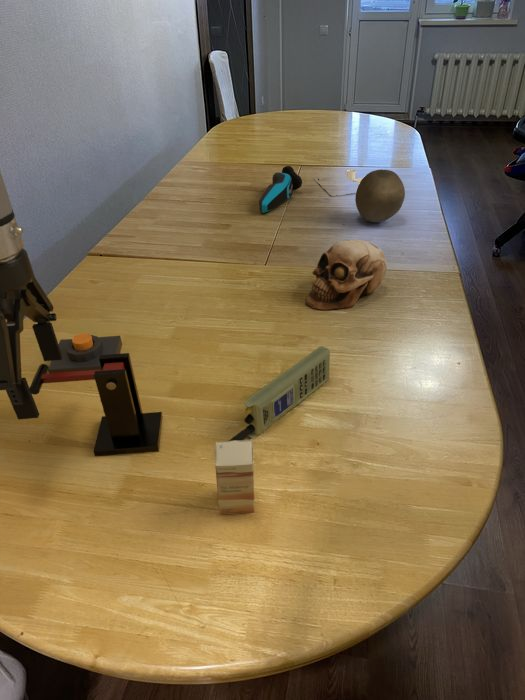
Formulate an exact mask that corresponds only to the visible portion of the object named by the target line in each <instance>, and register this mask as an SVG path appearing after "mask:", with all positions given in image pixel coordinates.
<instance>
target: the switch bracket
mask: <svg viewBox="0 0 525 700" xmlns="http://www.w3.org/2000/svg"><path fill="white" fill-rule="evenodd" d="M99 362H100V365H101V369H103V367H104V364H105V363H117V362H123V363H124V368H125V369H119V370H106V371H95V373H94V378H95V380H94V381H95V386H96V389H97V392H98V396H99V399H100V402H101V406H102V410H103V414H104V415H102V416H101V419H100V423H99V427H98V431H97V433H96V438H95V442H94V447H93V449H92V451H93V456H94V457H107V456H118V455H128V454H142V453H154V452H159V451H160V443H161V434H162V427H163V426H162V425H163V412H162V411H153V412H143V409H142V405H141V400H140V395H139V391H138V386H137V383H136V377H135V374H134V369H133V364H132V360H131V356H130V353H129V352H123V353H120V354H108V355H100V356H99Z"/></svg>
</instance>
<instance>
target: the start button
mask: <svg viewBox="0 0 525 700" xmlns="http://www.w3.org/2000/svg"><path fill="white" fill-rule="evenodd" d="M91 335H92V334H89V333H79V334H77V335H75V336H73V337H72V338H71V339H72V342H73V346H74V349H75V350H77V351H82V350H87V349H89V348H91V347H92V346H93V341H92V337H91Z"/></svg>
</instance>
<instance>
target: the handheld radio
mask: <svg viewBox="0 0 525 700" xmlns="http://www.w3.org/2000/svg"><path fill="white" fill-rule="evenodd" d="M330 353H331V351H330V349H329V348H328V347H326V346H318V347H317V348H316V349H314V350H313V351H311V352H310V353H308V354H307V355H306V356H304V358H302V359H301V360H299V361H297V362H296V363H294V364H293V365H292V366H291V367H289V368H288V369H286V370H285V371H283V373H281V374H280V375H278V376H277V377H275V378H274V379H272V381H270V382H268V383H267V384H265V385H264V386H263V387H261V388H260V389H259V390H258V391H256V392H254V393H253V394H252V395H251V396H249V397H247V399H246V401H245V402H244V403H243V406H244V407H246V408H245V409H244V413H245V414H246V417H244V422H245V424H247V426H245V428H244V429H242V430H241V431H239V432H238V433H237V434H235V435H234V436H233V437H232V438H230V439H229V440H228V441H236V440H237V441H238V440H246V439H247V438H250V440H252V439H254V438H255V437H256V436H259V435H261V434H262V433H264V432H265V431H266V430H267V429H269V428H270V427H271V426H272V425H274V424H275V423H276V422H278V420H280V419H281V418H283V416H284V415H286V414H288V412H290V411H291V410H293V408H295V407H296V406H297V405H298V404H300V403H301V402H302V401H304V400H305V399H306V398H307V397H309V396H310V395H311V394H312V393H314V392H315V391H316V390H318V389H319V388H320V387H321V386H322V385H324V384H326V382H328V381H329V380H330V363H331V362H330V360H331V359H330V357H331V355H330Z"/></svg>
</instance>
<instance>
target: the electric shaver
mask: <svg viewBox="0 0 525 700" xmlns="http://www.w3.org/2000/svg"><path fill="white" fill-rule="evenodd" d="M302 186H303V179H302V177H301V176H300V175H299V174H298V173H296V171H295V169H294V168H293V167H292V166H291V165H285V166H283V168H281V172H280V171H278V172H275V173H274V174H273V175H272V183H271V184H269V185H268V186H267V187H266V188H265V190H264V191H263V193H262V194H261V195H260V198H259V202H258V206H259V212H260V213H261V214H265V213H267V212H270V211H272V210H274V209H276V208H278V207H279V206H280V205H282V204H283V203H284V202H287V201H288V200H289V199H291V198H292V195H293V192H294V191H296V190H298V189H300V188H301V187H302ZM290 197H291V198H290Z"/></svg>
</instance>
